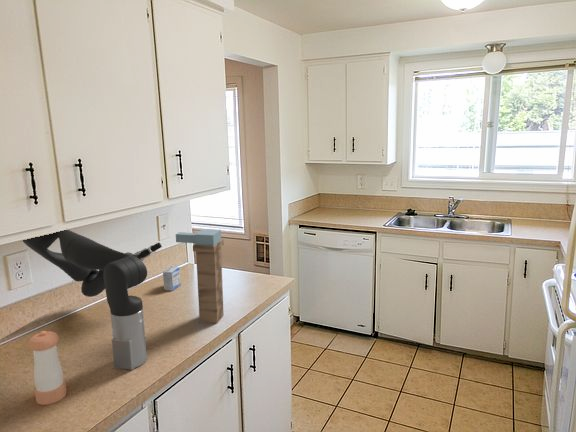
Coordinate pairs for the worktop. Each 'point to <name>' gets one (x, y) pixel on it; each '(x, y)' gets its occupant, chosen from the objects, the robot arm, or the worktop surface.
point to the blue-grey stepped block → (200, 237)
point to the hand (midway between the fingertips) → (155, 247)
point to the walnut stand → (209, 282)
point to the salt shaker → (47, 368)
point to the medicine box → (171, 278)
